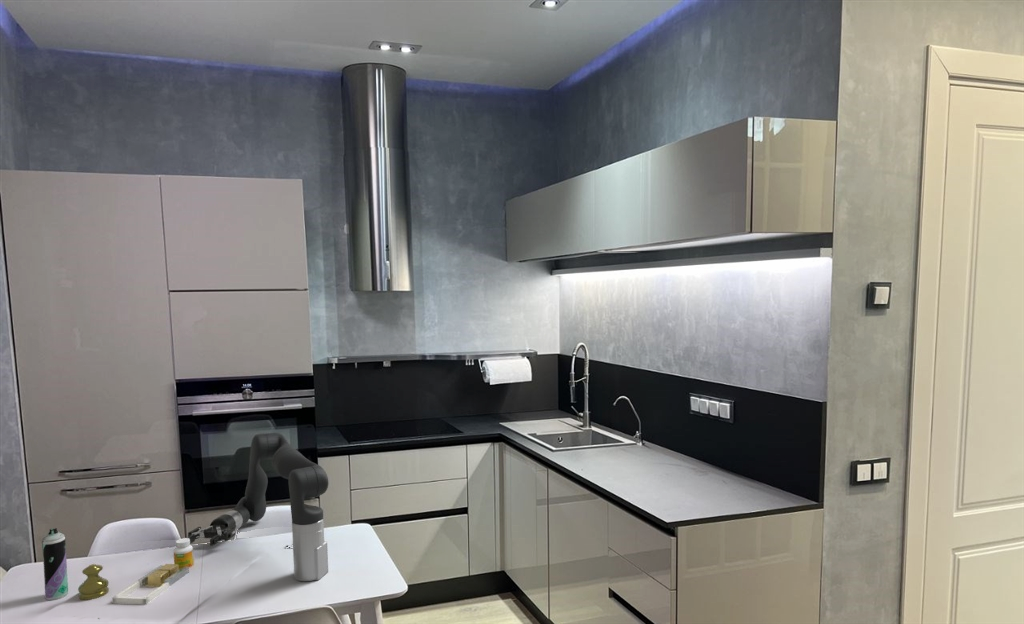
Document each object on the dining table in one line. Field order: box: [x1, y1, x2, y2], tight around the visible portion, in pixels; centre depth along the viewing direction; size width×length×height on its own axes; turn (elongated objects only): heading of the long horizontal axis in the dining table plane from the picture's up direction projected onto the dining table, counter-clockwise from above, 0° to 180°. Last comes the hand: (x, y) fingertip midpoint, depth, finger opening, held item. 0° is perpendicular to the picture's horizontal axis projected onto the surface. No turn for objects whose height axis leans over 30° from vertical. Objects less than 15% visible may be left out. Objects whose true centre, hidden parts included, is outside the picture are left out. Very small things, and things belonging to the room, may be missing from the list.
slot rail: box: [137, 564, 190, 588], centre depth 196 cm, size 10×9×4 cm
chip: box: [158, 563, 179, 577], centre depth 198 cm, size 4×4×3 cm
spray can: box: [41, 527, 69, 601], centre depth 190 cm, size 6×6×20 cm
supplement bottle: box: [173, 537, 194, 570], centre depth 206 cm, size 5×5×10 cm
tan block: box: [148, 570, 169, 586], centre depth 194 cm, size 4×4×3 cm
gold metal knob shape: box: [77, 563, 110, 601], centre depth 188 cm, size 7×7×10 cm
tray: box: [111, 581, 170, 605], centre depth 186 cm, size 10×10×3 cm
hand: (198, 542), depth 213 cm, fingers open, 8 cm apart
